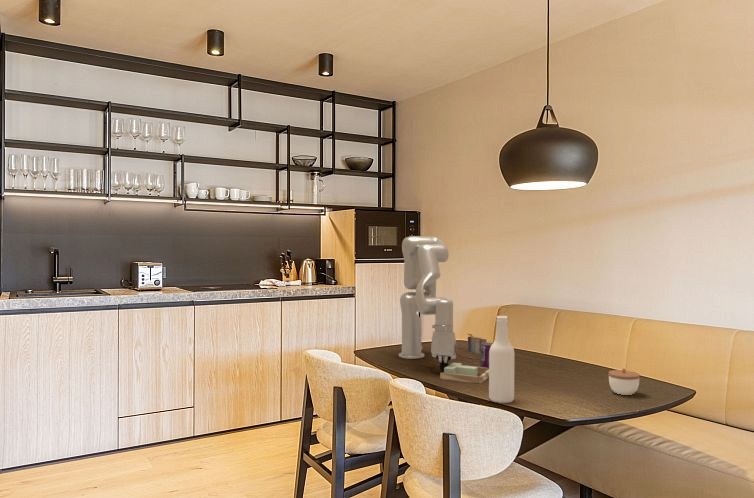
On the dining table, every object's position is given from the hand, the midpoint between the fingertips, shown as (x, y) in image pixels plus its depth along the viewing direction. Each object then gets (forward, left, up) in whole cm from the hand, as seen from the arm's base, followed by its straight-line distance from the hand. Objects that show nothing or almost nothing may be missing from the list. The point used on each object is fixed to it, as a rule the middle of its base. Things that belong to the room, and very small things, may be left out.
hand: (443, 371), depth 245 cm
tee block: (0, +8, -1) cm, 8 cm away
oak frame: (0, +10, -1) cm, 10 cm away
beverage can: (-14, +16, -1) cm, 21 cm away
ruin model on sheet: (-53, -1, -2) cm, 53 cm away
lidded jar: (0, +71, -1) cm, 71 cm away
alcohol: (+29, +32, -1) cm, 43 cm away
